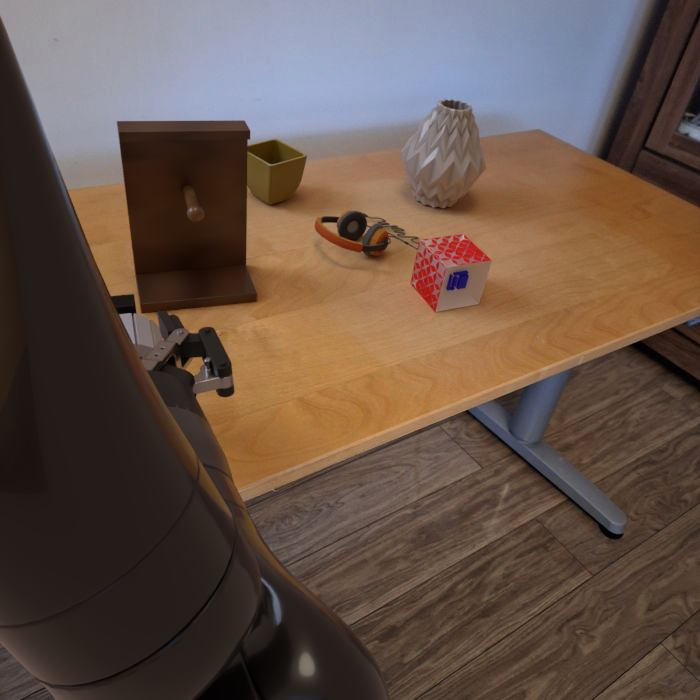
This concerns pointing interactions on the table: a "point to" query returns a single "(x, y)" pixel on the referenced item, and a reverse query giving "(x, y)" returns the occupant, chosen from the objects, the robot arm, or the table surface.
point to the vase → (444, 155)
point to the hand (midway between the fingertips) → (106, 333)
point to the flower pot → (274, 170)
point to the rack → (187, 211)
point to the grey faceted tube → (142, 332)
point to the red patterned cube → (450, 272)
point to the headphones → (358, 233)
